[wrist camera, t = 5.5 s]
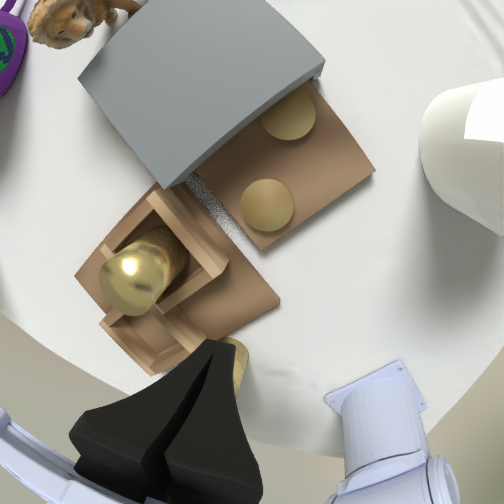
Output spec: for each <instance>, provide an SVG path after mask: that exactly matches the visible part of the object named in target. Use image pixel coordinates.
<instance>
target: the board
mask: <svg viewBox="0 0 504 504" xmlns="http://www.w3.org/2000/svg"><path fill="white" fill-rule="evenodd" d="M195 171H196V173H197V174H198V175H199V176H200V178H201V179H202V180H203V181H204V182H205V184H206V185H207V186H208V187H209V188H210V190H211V191H212V192H213V193H214V195H215V196H216V197H217V198H218V199H219V201H220V202H221V203H222V204H223V206H224V207H225V208H226V209H227V210H228V212H229V213H230V214H231V215H232V216H233V218H234V219H235V220H236V221H237V223H238V224H239V225H240V226H241V227H242V229H243V230H244V231H245V232H246V234H247V235H248V236H249V237H250V239H251V240H252V241H253V242H254V243H255V245H256V246H257V247H258V248H259V250H260V251H262V250H263V249H265V248H266V247H268V246H269V245H271V244H272V243H273V242H275V241H276V240H278V239H279V238H281V237H282V236H283V235H285V234H286V233H288V232H289V231H291V230H292V229H293V228H295V227H296V226H298V225H299V224H301V223H302V222H303V221H305V220H306V219H308V218H309V217H311V216H312V215H313V214H315V213H316V212H318V211H319V210H321V209H322V208H323V207H325V206H326V205H328V204H329V203H331V202H332V201H333V200H335V199H336V198H338V197H339V196H341V195H342V194H343V193H345V192H346V191H348V190H349V189H351V188H352V187H353V186H355V185H356V184H358V183H359V182H360V181H362V180H363V179H365V178H366V177H368V176H369V175H370V174H372V173H373V172H375V171H376V170H375V168H374V167H373V165H372V164H371V162H370V161H369V159H368V158H367V156H366V155H365V153H364V152H363V150H362V149H361V147H360V146H359V145H358V143H357V142H356V140H355V139H354V138H353V136H352V135H351V133H350V132H349V131H348V129H347V128H346V127H345V125H344V124H343V123H342V121H341V120H340V119H339V117H338V116H337V115H336V114H335V112H334V111H333V110H332V109H331V107H330V106H329V105H328V104H327V102H326V101H325V100H324V99H323V97H322V96H321V95H320V94H319V93H318V91H317V90H316V89H315V88H314V87H313V85H312V84H311V83H310V82H309V81H308V80H307V81H306V82H304V83H303V84H301V85H300V86H298V87H297V88H296V89H294V90H293V91H291V92H290V93H289V94H287V95H286V96H285V97H283V98H282V99H280V100H279V101H278V102H276V103H275V104H274V105H272V106H271V107H270V108H268V109H267V110H266V111H265V112H263V113H262V114H261V115H259V116H258V117H257V118H256V119H254V120H253V121H252V122H250V123H249V124H248V125H247V126H245V127H244V128H243V129H242V130H240V131H239V132H238V133H237V134H236V135H234V136H233V137H232V138H231V139H230V140H228V141H227V142H226V143H225V144H224V145H222V146H221V147H220V148H219V149H218V150H216V151H215V152H214V153H213V154H212V155H211V156H210V157H208V158H207V159H206V160H205V161H204V162H203V163H202V164H200V165H199V166H198V167H197V168H196V169H195Z"/></svg>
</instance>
